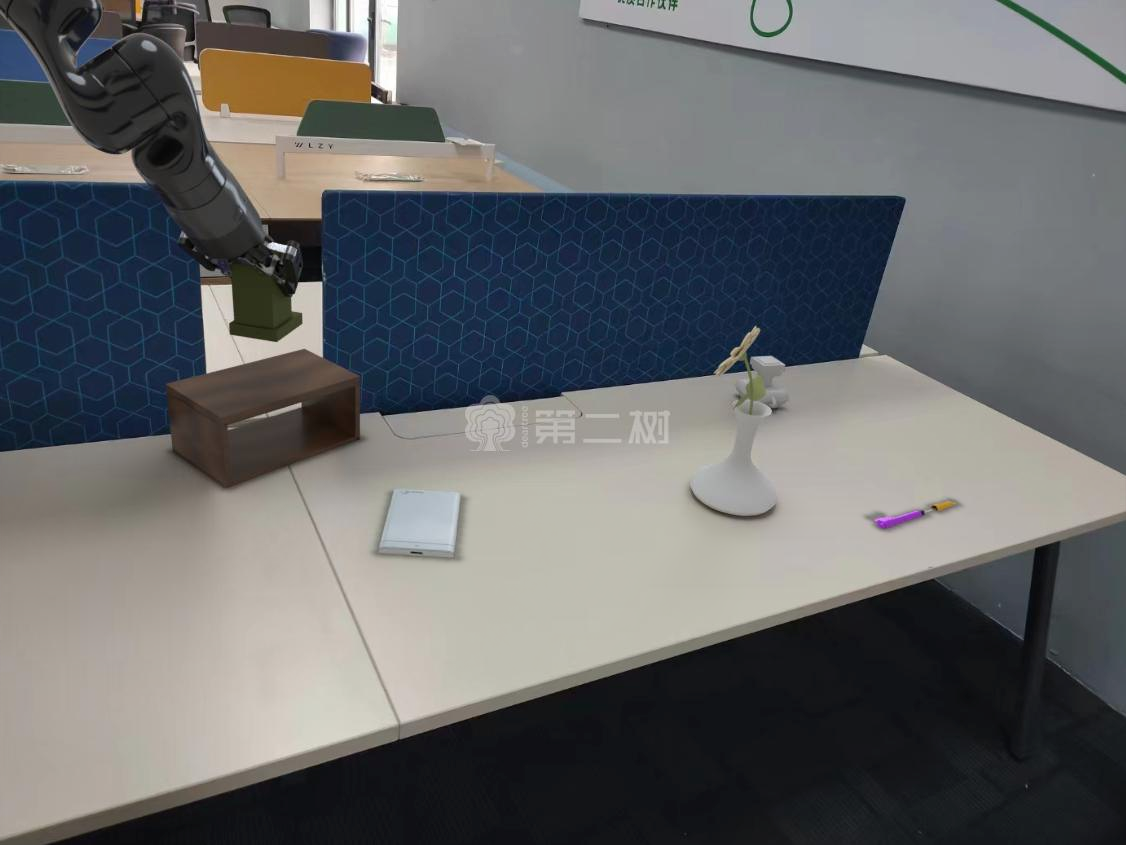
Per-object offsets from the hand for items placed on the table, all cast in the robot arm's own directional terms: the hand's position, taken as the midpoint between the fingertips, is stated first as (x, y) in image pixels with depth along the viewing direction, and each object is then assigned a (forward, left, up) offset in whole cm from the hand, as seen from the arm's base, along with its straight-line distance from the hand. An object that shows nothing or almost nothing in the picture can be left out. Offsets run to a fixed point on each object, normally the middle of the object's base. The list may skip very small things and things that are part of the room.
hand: (269, 286), depth 103 cm
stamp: (+38, +68, -22) cm, 81 cm away
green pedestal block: (+1, -2, -5) cm, 5 cm away
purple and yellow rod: (+69, +52, -22) cm, 89 cm away
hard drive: (+28, +1, -22) cm, 35 cm away
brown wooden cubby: (+1, -1, -22) cm, 22 cm away
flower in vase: (+50, +35, -22) cm, 64 cm away
